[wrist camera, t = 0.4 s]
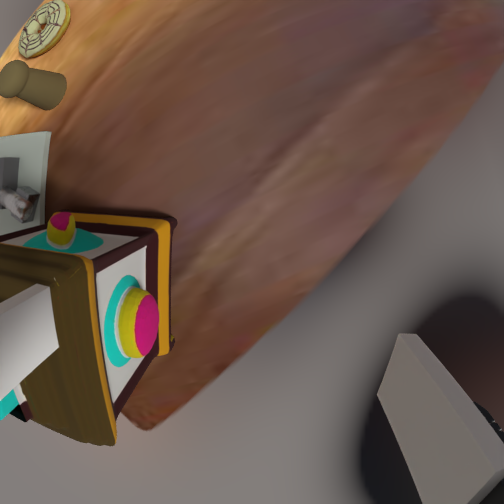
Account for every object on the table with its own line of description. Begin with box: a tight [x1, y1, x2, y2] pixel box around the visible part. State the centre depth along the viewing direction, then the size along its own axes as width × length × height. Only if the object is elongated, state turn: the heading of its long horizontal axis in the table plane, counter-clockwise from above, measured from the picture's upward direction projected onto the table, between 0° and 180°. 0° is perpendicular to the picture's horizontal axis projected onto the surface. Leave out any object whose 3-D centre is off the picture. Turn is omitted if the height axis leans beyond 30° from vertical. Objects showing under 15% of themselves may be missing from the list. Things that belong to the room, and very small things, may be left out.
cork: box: [0, 60, 67, 110], centre depth 28 cm, size 6×6×11 cm
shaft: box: [0, 186, 40, 224], centre depth 33 cm, size 6×4×4 cm
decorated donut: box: [19, 0, 71, 58], centre depth 29 cm, size 10×11×4 cm
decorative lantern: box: [0, 210, 177, 446], centre depth 24 cm, size 20×20×30 cm
